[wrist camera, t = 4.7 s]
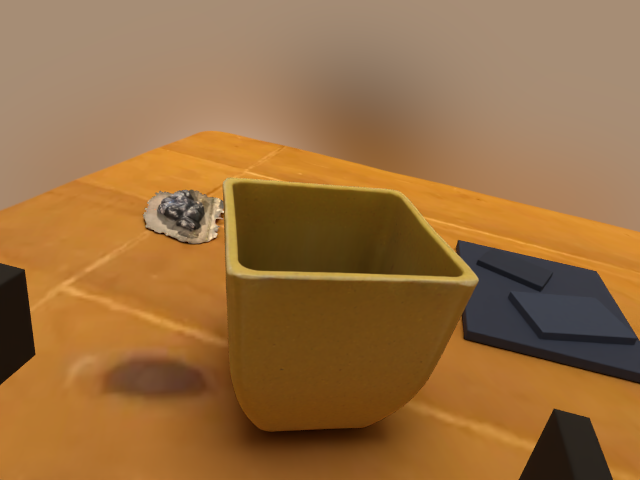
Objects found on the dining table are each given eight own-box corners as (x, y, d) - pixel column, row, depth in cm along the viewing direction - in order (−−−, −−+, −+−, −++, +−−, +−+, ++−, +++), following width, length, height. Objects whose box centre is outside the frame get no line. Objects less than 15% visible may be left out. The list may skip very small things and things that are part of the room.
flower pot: (212, 331, 27) (223, 172, 23) (367, 332, 29) (402, 186, 25) (211, 475, 19) (227, 274, 15) (422, 462, 21) (485, 282, 17)
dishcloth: (593, 278, 40) (599, 264, 39) (658, 388, 28) (668, 371, 28) (455, 247, 41) (460, 233, 40) (464, 339, 29) (470, 322, 29)
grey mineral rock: (219, 197, 43) (220, 176, 42) (247, 240, 36) (249, 217, 36) (135, 200, 40) (135, 177, 39) (151, 247, 33) (151, 222, 33)
